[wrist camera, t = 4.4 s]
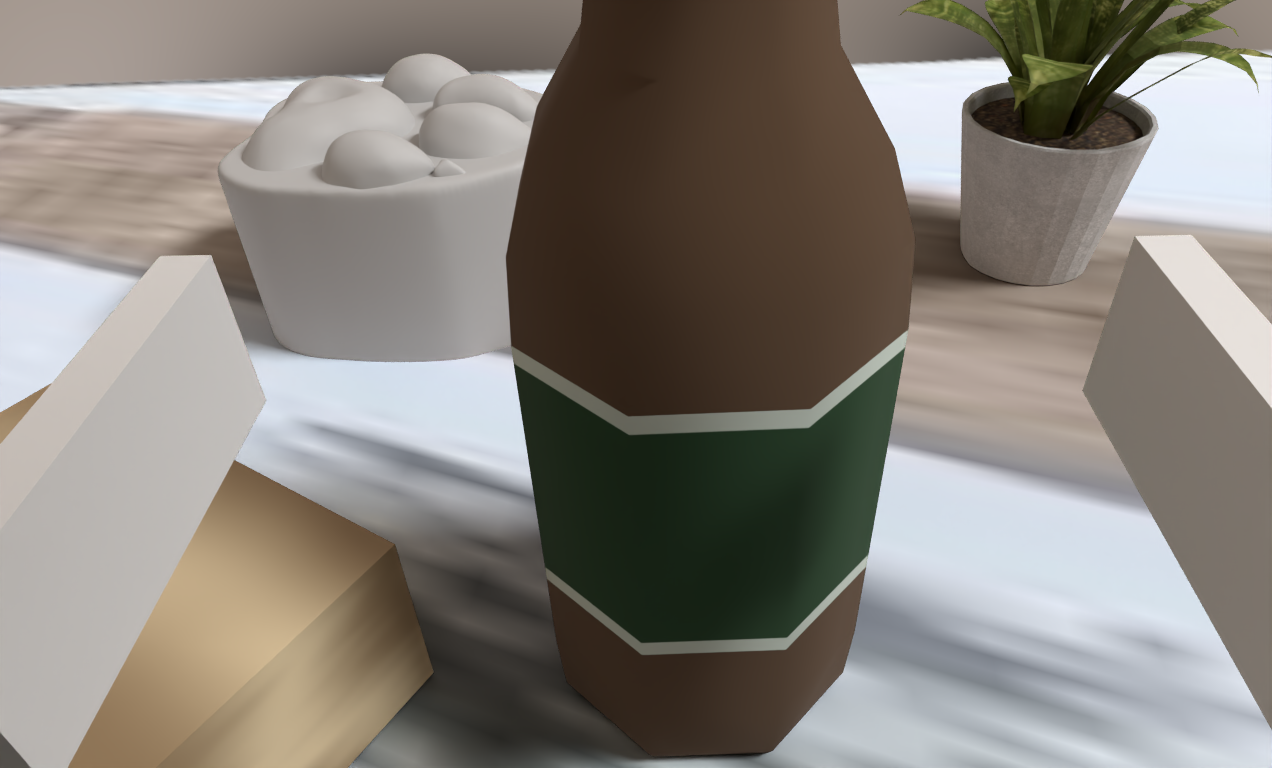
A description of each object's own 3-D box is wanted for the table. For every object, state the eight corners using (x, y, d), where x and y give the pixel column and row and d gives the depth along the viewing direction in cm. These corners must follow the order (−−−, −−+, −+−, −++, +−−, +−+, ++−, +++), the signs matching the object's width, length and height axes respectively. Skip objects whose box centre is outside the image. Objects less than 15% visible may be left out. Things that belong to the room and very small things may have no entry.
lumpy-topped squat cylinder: (335, 229, 44) (284, 45, 38) (607, 228, 43) (594, 39, 37) (249, 362, 35) (168, 151, 30) (582, 364, 34) (561, 147, 29)
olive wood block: (134, 495, 30) (68, 373, 27) (433, 672, 24) (395, 544, 21) (-363, 842, 21) (-544, 724, 18) (-82, 1242, 16) (-276, 1170, 12)
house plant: (1219, 414, 31) (1480, -139, 21) (819, 323, 36) (869, -157, 26) (1219, 222, 41) (1394, -215, 30) (905, 172, 46) (966, -218, 35)
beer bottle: (503, 716, 23) (151, -802, 8) (621, 504, 29) (542, -623, 14) (810, 825, 21) (1118, -1057, 6) (873, 570, 26) (1111, -714, 11)
